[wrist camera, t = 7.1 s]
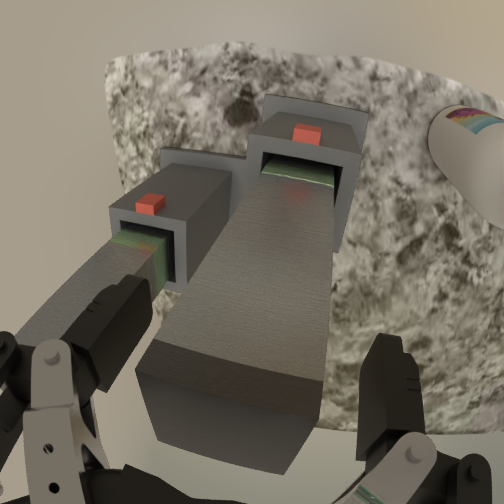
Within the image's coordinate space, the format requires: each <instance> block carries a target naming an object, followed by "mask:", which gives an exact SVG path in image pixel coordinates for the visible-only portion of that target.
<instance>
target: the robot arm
mask: <svg viewBox="0 0 504 504" xmlns="http://www.w3.org/2000/svg"><path fill="white" fill-rule="evenodd" d="M152 314H153V309H152V301H151V293H150V285H149V281H148V280H147V279H145V278H142V277H138V276H134V275H131V274H127V275H125V276H124V277H123V279H122V280H121V281H120V282H119V283H118V284H117V285H114V284H112V285H110V286H108V287H106V288H105V289H103V290H101V291H100V292H99V293H98V294H97V295H96V297H95V298H94V299H93V300H92V303H91V302H90V303H89V305H88V306H87V307H86V309H85V310H83V312H82V313H81V314H80V315H79V316H78V317H77V319H76V320H75V321H74V322H73V323H72V325H71V326H70V327H69V328H68V329H67V331H66V332H65V333H64V334H63V335H62V337H61V338H60V339H49V340H46V341H44V342H42V343H41V344H39V345H38V346H37V347H35V346H28V345H21V344H18V343H17V341H16V339H15V337H14V336H13V335H12V334H11V333H9V332H6V331H1V332H0V388H1V387H2V385H3V384H5V386H6V388H5V390H4V391H3V393H2V394H1V396H0V472H1V470H2V468H3V466H4V464H5V462H6V460H7V458H8V456H9V455H10V453H11V451H12V449H13V447H14V445H15V443H16V442H17V440H18V438H19V436H20V435H21V433H22V431H23V436H24V452H25V463H26V473H27V481H28V488H29V495H27V496H24V497H21V498H18V499H15V500H11V501H8V502H5V503H2V504H246V503H241V502H237V501H232V500H230V501H229V500H209V499H195V498H191V497H189V496H187V495H185V494H184V493H182V492H181V491H179V490H177V489H176V488H174V487H172V486H171V485H169V484H168V483H166V482H165V481H163V480H162V479H160V478H159V477H156V476H154V475H151V474H149V473H146V472H144V471H141V470H139V469H137V468H134V467H132V466H130V465H127V464H125V466H124V468H123V470H121V469H110V467H109V463H108V460H107V457H106V454H105V452H104V450H103V447H102V444H101V441H100V436H99V431H98V425H97V419H96V414H95V407H94V401H93V396H92V394H93V393H94V391H95V390H96V389H99V390H101V391H103V392H105V393H107V392H108V390H109V389H110V387H111V385H112V384H113V382H114V380H115V379H116V377H117V376H118V374H119V372H120V371H121V369H122V368H123V366H124V365H125V363H126V361H127V360H128V358H129V356H130V355H131V353H132V352H133V350H134V348H135V347H136V346H137V344H138V342H139V341H140V339H141V338H142V336H143V335H144V333H145V332H146V330H147V329H148V327H149V325H150V323H151V320H152ZM419 380H420V377H419V370H418V365H417V364H416V362H415V360H414V358H413V357H412V355H411V354H409V353H403V345H402V339H401V337H400V336H395V335H389V334H384V333H379V334H378V335H377V336H376V338H375V340H374V342H373V344H372V346H371V348H370V350H369V352H368V354H367V356H366V358H365V359H364V361H363V364H362V367H361V371H360V378H359V413H358V432H357V449H356V460H357V461H366V467H365V471H363V472H362V473H361V475H359V477H357V479H356V480H355V481H354V482H353V483H352V484H351V485H350V486H348V487H347V488H346V489H345V490H344V491H343V492H342V493H341V494H340V495H339V496H338V497H337V498H336V499H335V500H334V501H333V502H332V503H330V504H492V481H491V469H490V465H489V463H488V461H487V460H486V459H485V458H484V457H483V456H481V455H479V454H469V455H466V456H465V457H463V458H462V459H461V460H459V459H457V458H454V457H451V456H448V455H446V454H443V453H441V452H439V451H437V450H436V447H435V444H434V443H433V441H432V440H431V439H430V438H429V437H428V436H426V432H425V422H424V411H423V402H422V393H421V385H420V382H419ZM2 493H3V487H2V485H1V484H0V496H1V495H2Z"/></svg>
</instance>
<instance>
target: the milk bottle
mask: <svg viewBox="0 0 504 504" xmlns="http://www.w3.org/2000/svg"><path fill="white" fill-rule="evenodd" d="M428 146H429V151H430V154H431V156H432V159H433V160H434V162H435V164H436V165H437V166H438V168H439V169H440V170H441V171H442V172H443V174H444V175H445V176H446V177H447V178H448V179H449V181H450V182H451V183H452V184H453V185H454V186H455V188H456V189H457V190H458V191H459V192H460V194H461V195H462V196H463V197H464V198H465V200H466V201H467V202H468V203H469V204H470V205H471V206H472V207H473V209H474V210H475V211H476V212H477V213H478V214H479V215H480V216H481V217H483V218H484V219H485V220H486V221H488V222H489V223H491V224H493V225H494V226H496V227H498V228H501V229H504V120H503V119H501V118H498V117H496V116H494V115H491V114H488V113H486V112H483V111H480V110H478V109H475V108H472V107H468V106H463V105H455V106H450V107H448V108H446V109H444V110H442V111H441V112H440V113H439V114H438V115H437V116H436V117H435V119H434V120H433V122H432V124H431V126H430V129H429V135H428Z"/></svg>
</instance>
